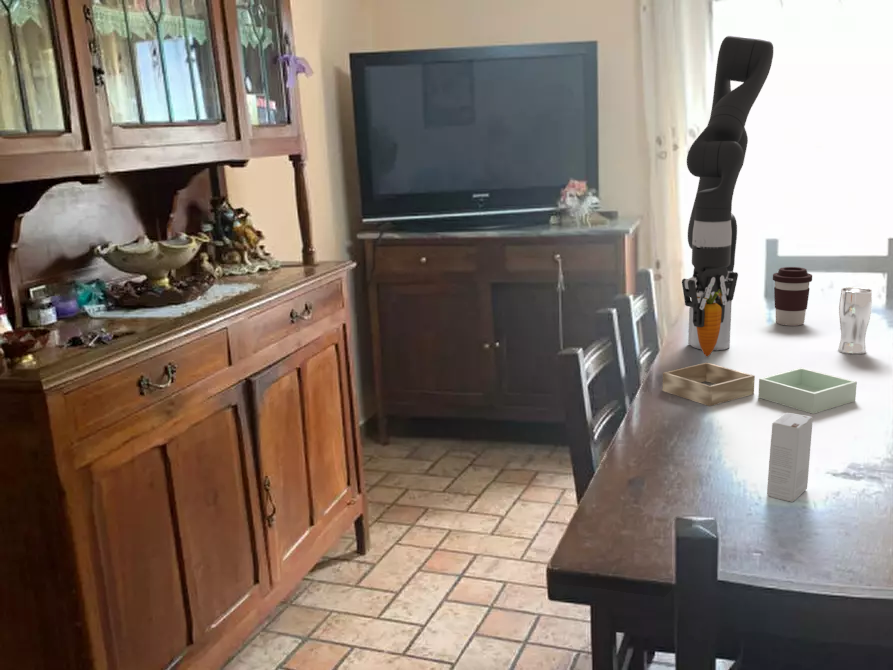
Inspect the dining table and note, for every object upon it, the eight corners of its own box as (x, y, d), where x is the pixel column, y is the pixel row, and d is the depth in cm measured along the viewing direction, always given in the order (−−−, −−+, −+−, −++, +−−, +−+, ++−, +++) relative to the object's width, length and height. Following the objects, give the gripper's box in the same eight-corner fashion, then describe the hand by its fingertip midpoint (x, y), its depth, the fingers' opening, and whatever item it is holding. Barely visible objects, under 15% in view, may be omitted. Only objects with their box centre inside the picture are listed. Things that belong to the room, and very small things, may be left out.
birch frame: (662, 390, 191) (662, 372, 191) (706, 380, 198) (706, 362, 197) (709, 406, 181) (710, 387, 180) (753, 394, 187) (754, 375, 186)
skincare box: (780, 483, 143) (784, 410, 140) (809, 490, 140) (814, 416, 137) (765, 496, 138) (769, 421, 135) (795, 504, 135) (799, 427, 132)
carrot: (720, 354, 189) (723, 283, 186) (718, 360, 185) (722, 288, 181) (695, 352, 191) (698, 282, 187) (693, 359, 186) (696, 287, 183)
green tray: (758, 397, 185) (759, 378, 184) (800, 385, 192) (801, 367, 191) (813, 413, 174) (814, 393, 173) (855, 400, 181) (856, 381, 180)
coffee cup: (812, 321, 248) (816, 267, 244) (805, 328, 240) (808, 272, 236) (775, 318, 253) (778, 264, 249) (766, 325, 245) (769, 270, 241)
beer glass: (871, 355, 213) (876, 292, 209) (839, 354, 214) (844, 292, 210) (864, 348, 219) (868, 287, 216) (833, 347, 221) (837, 287, 217)
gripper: (722, 236, 189) (719, 316, 193) (672, 244, 181) (669, 326, 186) (751, 240, 182) (746, 322, 187) (700, 248, 175) (696, 333, 179)
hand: (708, 324), depth 186 cm, fingers closed on carrot, 5 cm apart
